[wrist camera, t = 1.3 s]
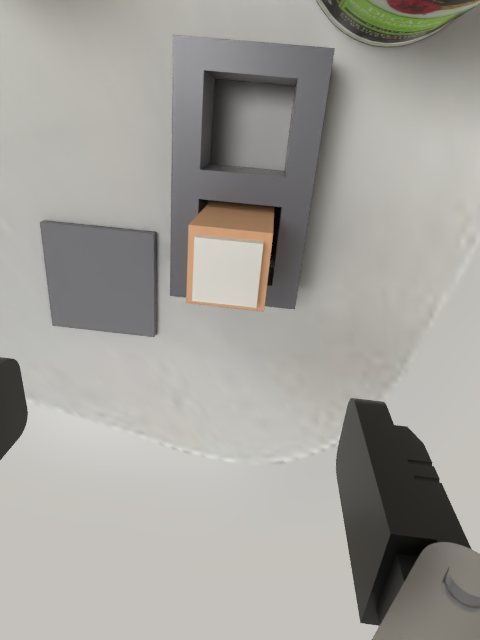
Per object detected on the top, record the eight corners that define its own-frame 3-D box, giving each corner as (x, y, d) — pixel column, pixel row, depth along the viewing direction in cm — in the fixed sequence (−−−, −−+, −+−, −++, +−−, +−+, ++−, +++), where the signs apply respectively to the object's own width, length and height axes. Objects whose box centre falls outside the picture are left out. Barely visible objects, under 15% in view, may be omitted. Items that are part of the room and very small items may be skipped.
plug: (211, 254, 29) (183, 307, 21) (214, 196, 28) (185, 227, 19) (267, 260, 29) (263, 316, 21) (274, 202, 28) (273, 236, 19)
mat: (56, 322, 33) (52, 325, 32) (44, 220, 29) (40, 222, 29) (156, 333, 32) (154, 337, 32) (155, 231, 29) (153, 233, 28)
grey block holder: (183, 275, 30) (170, 295, 27) (188, 48, 24) (173, 34, 21) (292, 287, 30) (294, 309, 26) (326, 60, 24) (334, 48, 20)
